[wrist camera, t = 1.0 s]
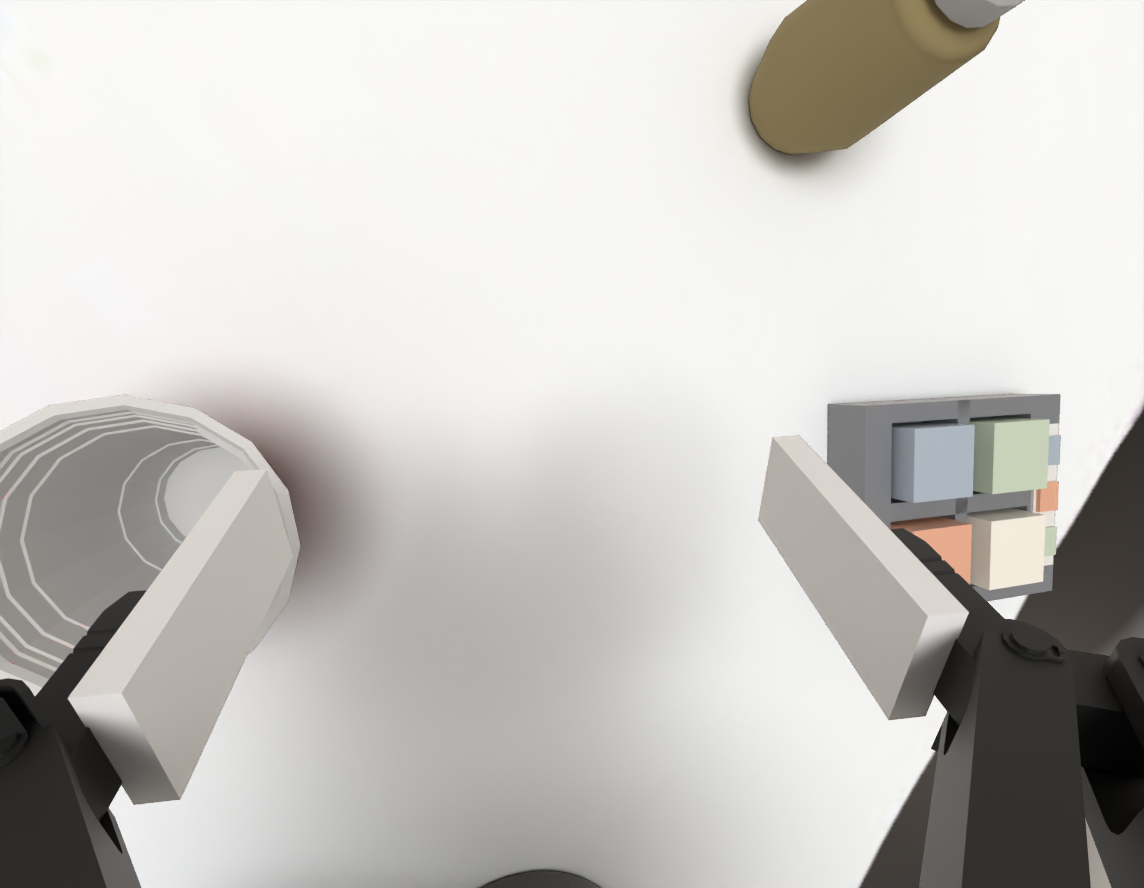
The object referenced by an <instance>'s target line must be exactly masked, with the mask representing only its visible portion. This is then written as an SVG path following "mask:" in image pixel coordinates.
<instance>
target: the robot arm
mask: <svg viewBox="0 0 1144 888" xmlns="http://www.w3.org/2000/svg"><path fill="white" fill-rule="evenodd" d="M758 521H759V522H760V524H761V525H762V527H763V528H764V530H765V532H766V533H767V535H768V536H769V538H770V539H771V541H772V542H773V544H774V545H775V547H776V548H777V550H778V551H779V553H780V554H781V556H782V558H783V559H784V561H785V562H786V564H787V565H788V567H789V568H790V570H791V571H792V573H793V574H794V576H795V577H796V579H797V581H798V582H799V584H800V585H801V587H802V588H803V590H804V591H805V593H806V594H807V596H808V597H809V599H810V600H811V602H812V604H813V605H814V607H815V608H816V610H817V611H818V613H819V614H820V616H821V617H822V619H823V620H824V622H825V623H826V625H827V626H828V628H829V630H830V631H831V633H832V634H833V636H834V637H835V639H836V640H837V642H838V643H839V645H840V646H841V648H842V649H843V651H844V653H845V654H846V656H847V657H848V659H849V660H850V662H851V663H852V665H853V666H854V668H855V669H856V671H857V672H858V674H859V675H860V677H861V679H862V680H863V682H864V683H865V685H866V686H867V688H868V689H869V691H870V692H871V694H872V695H873V697H874V698H875V700H876V702H877V703H878V705H879V706H880V708H881V709H882V711H883V712H884V714H885V715H886V717H887V718H888V720H895V719H904V718H912V717H921V716H926V713H927V711H928V709H929V706H930V704H931V702H932V699H933V697H934V695H935V696H936V697H937V699H938V700H939V701H940V702H941V704H942V705H943V706H944V708H945V709H946V710H947V714H946V716H945V718H944V721H943V723H942V725H941V727H940V730H939V732H938V734H937V736H936V739H935V741H934V743H933V745H932V748H931V749H933V750H935V751H938V757H937V765H936V771H935V779H934V785H933V792H932V800H931V807H930V814H929V822H928V828H927V835H926V842H925V849H924V856H923V863H922V870H921V878H920V885H919V888H1090V874H1089V862H1088V849H1087V837H1086V824H1085V818H1086V821H1087V823H1088V826H1089V828H1090V831H1091V834H1092V837H1093V839H1094V842H1095V845H1096V847H1097V850H1098V853H1099V855H1100V858H1101V860H1102V863H1103V866H1104V868H1105V871H1106V874H1107V876H1108V879H1109V882H1110V884H1111V887H1112V888H1144V639H1143V638H1135V637H1131V638H1127V639H1123V640H1120V642H1119V643H1118V645H1117V646H1116V648H1115V649H1114V651H1113V652H1112V654H1111V656H1105V655H1099V654H1092V653H1086V652H1079V651H1073V650H1067V649H1066V648H1065V647H1064V646H1063V645H1062V644H1061V643H1060V642H1059V641H1058V640H1057V639H1056V638H1054V637H1053V636H1051V635H1050V634H1048V633H1047V632H1045V631H1044V630H1042V629H1039V628H1037V627H1035V626H1033V625H1030V624H1028V623H1025V622H1020V621H1017V620H1012V619H1004V618H1003V617H1002V616H1001V615H1000V614H999V613H998V612H997V611H996V610H995V609H994V608H993V607H992V606H991V605H990V604H989V603H988V602H987V601H986V600H985V599H984V598H983V597H982V596H981V595H980V594H979V593H978V592H977V591H976V590H975V589H974V588H973V587H972V586H971V585H970V584H969V583H968V582H967V581H965V580H964V579H963V578H962V577H961V576H960V575H959V574H958V573H955V570H954V569H953V568H952V567H951V566H950V565H949V564H948V563H947V562H946V561H945V560H942V557H941V556H940V555H939V554H938V553H937V552H936V551H935V550H934V549H933V548H932V547H931V546H930V545H929V544H928V543H927V542H926V541H924V540H923V539H921V538H919V537H918V536H916V535H914V534H912V533H911V532H909V531H907V530H906V529H904V528H897V529H889V528H888V527H887V526H886V525H885V524H884V523H883V522H882V521H881V520H880V519H879V518H878V517H877V516H876V515H875V514H874V513H873V511H872V510H871V509H870V508H869V507H868V506H867V505H866V504H865V503H864V502H863V501H862V500H861V499H860V498H859V497H858V496H857V495H856V494H855V493H854V492H853V491H852V490H851V489H850V487H849V486H848V485H847V484H846V483H845V482H844V481H843V480H842V479H841V478H840V477H839V476H838V475H837V474H836V473H835V472H834V471H833V470H832V469H831V468H830V467H829V466H828V465H827V463H826V462H825V461H824V460H823V459H822V458H821V457H820V456H819V455H818V454H817V453H816V452H815V451H814V450H813V449H812V448H811V447H810V446H809V445H808V444H807V443H806V442H805V440H804V439H803V438H802V437H801V436H800V435H799V436H783V437H772V443H771V449H770V455H769V460H768V466H767V472H766V478H765V483H764V489H763V495H762V501H761V506H760V512H759V518H758ZM292 557H293V555H292V551H291V548H290V545H289V541H288V538H287V535H286V531H285V528H284V524H283V521H282V518H281V514H280V511H279V508H278V504H277V501H276V498H275V494H274V491H273V488H272V484H271V481H270V478H269V474H268V471H267V469H263V470H247V471H235V472H234V473H233V474H232V476H231V477H230V479H229V480H228V481H227V483H226V484H225V485H224V487H223V488H222V489H221V491H220V492H219V493H218V495H217V496H216V498H215V499H214V500H213V502H212V503H211V504H210V506H209V507H208V508H207V510H206V511H205V512H204V514H203V515H202V517H201V518H200V519H199V521H198V522H197V523H196V525H195V526H194V527H193V529H192V530H191V531H190V533H189V534H188V535H187V537H186V538H185V540H184V541H183V542H182V544H181V545H180V546H179V548H178V549H177V550H176V552H175V553H174V554H173V556H172V557H171V559H170V560H169V561H168V563H167V564H166V565H165V567H164V568H163V569H162V571H161V572H160V573H159V575H158V576H157V578H156V579H155V580H154V582H153V583H152V584H151V586H150V587H149V588H148V590H143V591H130V592H128V593H126V594H125V595H124V596H122V597H121V598H120V599H118V600H117V601H116V602H114V603H113V604H112V605H110V606H109V607H108V608H106V609H105V610H104V611H103V612H102V613H101V614H100V616H99V617H98V618H97V619H96V621H95V622H94V623H93V625H92V626H91V627H90V628H89V630H88V631H87V635H86V636H83V637H82V638H81V640H80V641H79V642H78V643H77V645H76V646H75V647H74V648H73V653H70V654H69V655H68V656H67V657H66V658H65V660H64V661H63V662H62V664H61V665H60V666H59V667H58V669H57V670H56V671H55V672H54V674H53V675H52V676H51V677H50V679H49V680H48V681H47V682H46V684H45V685H44V686H43V687H42V689H41V690H40V691H39V692H38V694H37V695H36V696H34V694H33V693H32V691H31V690H30V688H29V687H28V686H27V685H26V684H25V683H24V682H23V681H22V680H17V679H10V678H6V679H0V888H141V886H140V883H139V880H138V878H137V875H136V872H135V870H134V867H133V864H132V862H131V859H130V856H129V854H128V851H127V848H126V846H125V843H124V840H123V838H122V835H121V832H120V830H119V827H118V824H117V822H116V819H115V817H114V815H113V814H112V812H111V811H110V809H109V808H108V807H109V806H110V804H111V802H112V800H113V798H114V797H115V795H116V793H117V791H118V790H119V788H120V786H121V785H122V786H123V788H124V790H125V791H126V793H127V794H128V796H129V798H130V799H131V801H132V803H133V804H134V805H135V804H144V803H153V802H162V801H171V800H180V799H181V797H182V795H183V793H184V791H185V788H186V786H187V784H188V782H189V780H190V778H191V775H192V773H193V771H194V769H195V767H196V765H197V762H198V760H199V758H200V756H201V754H202V752H203V749H204V747H205V745H206V743H207V741H208V739H209V736H210V734H211V732H212V730H213V728H214V726H215V723H216V721H217V719H218V717H219V715H220V713H221V710H222V708H223V706H224V704H225V702H226V700H227V697H228V695H229V693H230V691H231V689H232V687H233V684H234V682H235V680H236V678H237V676H238V674H239V672H240V669H241V667H242V665H243V663H244V661H245V659H246V656H247V654H248V652H249V650H250V648H251V646H252V643H253V641H254V639H255V637H256V635H257V633H258V630H259V628H260V626H261V624H262V622H263V620H264V617H265V615H266V613H267V611H268V609H269V607H270V604H271V602H272V600H273V598H274V596H275V594H276V591H277V589H278V587H279V585H280V583H281V581H282V578H283V576H284V574H285V572H286V570H287V568H288V566H289V563H290V561H291V559H292ZM483 888H600V887H598V886H597V885H595V884H594V883H592V882H590V881H588V880H586V879H583V878H581V877H578V876H575V875H572V874H567V873H562V872H552V871H539V872H529V873H523V874H518V875H514V876H510V877H507V878H504V879H501V880H498V881H496V882H494V883H491V884H489V885H487V886H485V887H483Z"/></svg>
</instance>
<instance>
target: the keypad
mask: <svg viewBox="0 0 1144 888" xmlns="http://www.w3.org/2000/svg"><path fill="white" fill-rule="evenodd" d="M1059 415H1060V394H999V395H982V396H965V397H947V398H930V399H913V400H895V401H878V402H860V403H843V404H828V466H829V467H830V468H831V469H832V470H833V471H834V472H835V473H836V474H837V475H838V476H839V477H840V478H841V479H842V480H843V481H844V482H845V483H846V484H847V485H848V486H849V487H850V489H851V490H852V491H853V492H854V493H855V494H856V495H857V496H858V497H859V498H860V499H861V500H862V501H863V502H864V503H865V504H866V505H867V506H868V507H869V508H870V509H871V510H872V511H873V513H874V514H875V515H876V516H877V517H878V518H879V519H880V520H881V521H882V522H883V523H884V524H885V525H886V526H887V527H888V528H889V529H890V524H891V522H895V521H904V520H912V519H920V518H929V517H937V516H940V517H945V518H949V519H953V520H957V521H961V522H965V523H967V513H971V512H979V511H988V510H996V509H1004V508H1014V509H1019V510H1024V511H1029V512H1034V513H1039V514H1044V515H1046V523H1045V547H1044V572H1043V582H1038V583H1031V584H1025V585H1019V586H1013V587H1007V588H1001V589H994V590H987V589H984V588H981V587H978V586H976V585H973V584H970V585H971V586H972V587H973V588H974V589H975V590H976V591H977V592H978V593H979V594H980V595H981V596H982V597H983V598H984V599H985V600H986V601H992V600H998V599H1004V598H1010V597H1016V596H1021V595H1027V594H1033V593H1038V592H1045V591H1051V590H1052V576H1053V555H1055V554H1056V533H1057V527H1055V510H1058V487H1059V482H1058V481H1057V465H1058V464H1060V441H1061V435H1059ZM1001 417H1013V418H1034V419H1050V426H1049V450H1048V475H1047V488H1045V489H1036V490H1027V491H1018V492H1009V493H1000V494H988V493H982V492H977V491H973V497H964V498H955V499H946V500H937V501H927V502H918V503H911V502H907V501H902V500H898V499H894V498H891V453H892V425H901V424H916V423H930V422H940V423H956V424H970V420H973V419H987V418H1001Z"/></svg>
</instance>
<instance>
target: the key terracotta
mask: <svg viewBox="0 0 1144 888" xmlns="http://www.w3.org/2000/svg"><path fill="white" fill-rule="evenodd" d="M897 528H904V529H906V530H907V531H909V532H911V533H912V534H914V535H916V536H918V537H919V538H921V539H923V540H924V541H926V542H927V543H928V544H929V545H930V546H931V547H932V548H933V549H934V550H935V551H936V552H937V553H938V554H939V555H940V556H941V557H942V560H945V561H946V562H947V563H948V564H949V565H950V566H951V567H952V568H953V569H954V570H955V573H958V574H959V575H960V576H961V577H962V578H963V579H964V580H965V581H967V582H968V583H969V584H970V574H971V539H972V524H969V523H965V522H961V521H957V520H953V519H949V518H945V517H940V516H937V517H929V518H920V519H912V520H904V521H895V522H891V524H890V529H897Z"/></svg>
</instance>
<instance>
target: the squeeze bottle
mask: <svg viewBox="0 0 1144 888" xmlns="http://www.w3.org/2000/svg"><path fill="white" fill-rule="evenodd" d="M1023 1H1025V0H807V1H806V2H804V3H803V4H802V5H801V6H799V7H798V8H797V9H795V10H794V11H793V12H792V13H790V14H789V15H788V16H786V17H785V18H784V20H783V21H782V23H781V24H780V26H779V27H778V29H777V31H776V32H775V34H774V35H773V37H772V38H771V40H770V42H769V44H768V46H767V49H766V51H765V53H764V56H763V58H762V60H761V63H760V65H759V67H758V70H757V72H756V74H755V76H754V79H753V81H752V86H751V91H750V96H749V106H750V113H751V120H752V122H753V124H754V126H755V128H756V129H757V131H758V133H759V135H760V137H761V138H762V139H763V140H764V141H765V142H766V143H768V144H769V145H770V146H771V147H772V148H773V149H775V150H778V151H781V152H784V153H787V154H798V153H811V152H824V151H832V150H840V149H847V148H848V147H850V146H851V145H853V144H854V143H856V142H857V141H859V140H860V139H862V138H863V137H865V136H866V135H867V134H869V133H870V132H871V131H873V130H874V129H876V128H877V127H878V126H880V125H881V124H883V123H884V122H885V121H887V120H888V119H889V118H891V117H892V116H894V115H895V114H896V113H898V112H899V111H900V110H902V109H903V108H905V107H906V106H907V105H909V104H910V103H911V102H913V101H914V100H916V99H917V98H918V97H920V96H921V95H922V94H924V93H925V92H927V91H928V90H929V89H931V88H932V87H934V86H935V85H936V84H938V83H939V82H940V81H942V80H943V79H945V78H946V77H947V76H949V75H950V74H951V73H953V72H954V71H956V70H957V69H958V68H960V67H961V66H962V65H964V64H965V63H967V62H968V61H969V60H971V59H972V58H973V57H975V56H976V55H978V54H979V53H980V52H982V51H983V50H985V48H986V46H987V45H988V43H989V41H990V40H991V38H992V36H993V35H994V33H995V32H996V30H997V28H998V25H999V20H1000V16H1002V15H1003V14H1005V13H1006V12H1008V11H1009V10H1011V9H1013V8H1014V7H1016V6H1017V5H1019V4H1020V3H1022V2H1023Z"/></svg>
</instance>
